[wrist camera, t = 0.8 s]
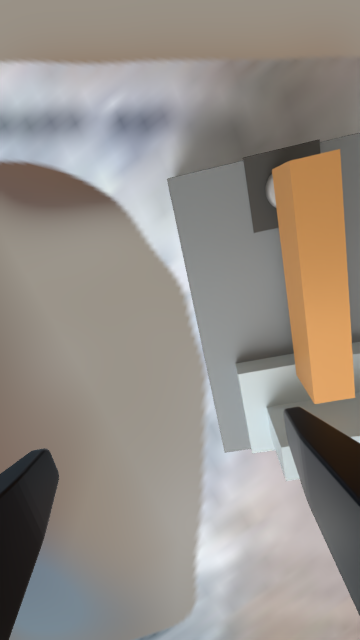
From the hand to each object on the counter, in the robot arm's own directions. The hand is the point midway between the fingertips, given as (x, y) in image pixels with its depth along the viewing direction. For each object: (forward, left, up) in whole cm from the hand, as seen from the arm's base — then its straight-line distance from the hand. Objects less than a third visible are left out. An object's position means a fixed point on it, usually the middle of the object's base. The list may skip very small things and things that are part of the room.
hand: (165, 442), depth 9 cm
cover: (-6, +5, -9) cm, 12 cm away
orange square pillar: (-6, -2, -8) cm, 10 cm away
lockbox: (-6, 0, -13) cm, 14 cm away
